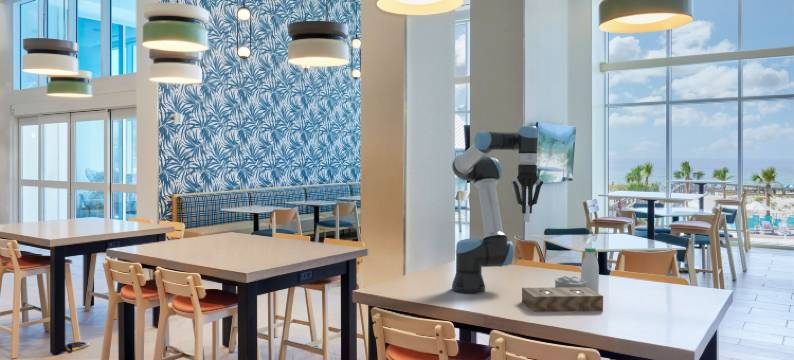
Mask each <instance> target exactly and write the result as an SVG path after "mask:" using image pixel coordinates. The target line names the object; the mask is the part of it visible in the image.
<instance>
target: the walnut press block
mask: <svg viewBox="0 0 794 360" xmlns="http://www.w3.org/2000/svg"><path fill="white" fill-rule="evenodd" d="M541 291H549V292H551V293H541ZM572 291H581V292H582V293H573V292H572ZM521 303H522V304H523V305H525V306H526V307H527V308H528V309H530V310H531V311H532V312H533V313H542V312H544V313H545V312H549V313H550V312H551V313H553V312H555V313H556V312H603V311H604V295H602V294H600V293H599V292H595V291H593V290H591V289H589V288H587V287H557V288H555V287H521Z"/></svg>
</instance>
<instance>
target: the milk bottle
mask: <svg viewBox="0 0 794 360" xmlns="http://www.w3.org/2000/svg"><path fill="white" fill-rule="evenodd" d="M596 250H597V249H596V247H585V248H584V253H585V255H584V258H583V260H582V262H581V267H580V279H582V280H583V281H586V282H587V288H589V289H591V290H593V291H595V292H597V293H599V283H600V282H599V281H600V274H599V273H600V271H599V270H600V267H599V263H598V259H597V258H596Z"/></svg>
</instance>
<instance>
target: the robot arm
mask: <svg viewBox="0 0 794 360" xmlns="http://www.w3.org/2000/svg"><path fill="white" fill-rule="evenodd" d="M538 136H539V135H538V128H537V126H533V125H523V126H522V125H521V126H519V128H518V132H517V131H516V132H515V131H513V132H512V131H511V132H510V131H485V130H484V131H478V132H476V133H475V136H474V139H473V144H472V145H470V146H469V148H468V149H466V150H465V151H464V152H463V153H461V154H458V155H457V156H456V157H455V158H454V159H453V161H452V165H451V168H452V171H453V174H454V175H455V176H456V177H457V178H458V179H461V180H462V181H466V182H467V181H468V182H470V181H471V182H472V181H473V183H474V184H473V185H474V187H476V188H477V191H478V196H479V203H480V210H481V217H482V218H481V219H482V224H483V230H484V231H483V232H484V235H483V237H482V238H480V237H479V238H478V237H475V238H474V237H473V238H472V237H471V238H465V239H464V238H463V239H461V240H459V241H457V243H456V247H455V248H456V249H455V275H454V279H453V280H452V284H451V290H452V291H453V292H455V293H460V294H468V295H469V294H472V295H473V294H482V293H484V292H486V284H485V282H484V281H485V280H484V277H483V274H482V271H483V269H482V268H486V267H487V268H489V267H490V268H491V267H492V268H493V267H494V268H495V267H500V268H501V267H507V266H509V265H510V264H512V262H513V259H514V257H515V256H514V255H515V246H514V245H515V244H514V243H513V242H512V240H509V239H508V235H506V234H505V233H504V229H503V224H502V223H503V222H502V217H501V211H500V204H499V197H498V191H497V185H498V184H499V180H500V179H501V178H502V166H501V163H500V161H499V160H498V159H497V158H496V157H494V156H492V157H491V156H487V155H488V154H490V152H492V151H498V150H501V151H502V150H503V151H518V158H517V159H518V160H517V162H518V165H517V177H516V179H514V180H512V181H510V182H511V184H512V186H513V189H514V193H515V197H516V202H517V204H518V205H521V214H523V222H525V223H529V222H530V221H531V219H530V215H531V214H532V213H533V206H534V205H537V203H538V200H539V196H540V195H539V194H540V191H541V189H542V186H543V184H544V181H543V180H540V179H539V177H538V165H537V163H538V138H539V137H538ZM519 184H520V186H521V192H520V187H519ZM535 184H536V186H535ZM534 186H535V190H534ZM533 190H534V191H533Z"/></svg>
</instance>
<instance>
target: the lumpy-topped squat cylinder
mask: <svg viewBox="0 0 794 360" xmlns="http://www.w3.org/2000/svg"><path fill="white" fill-rule="evenodd" d="M557 287H587V282H586V281H583V280H582V279H581V278H579V277H577V276H571V277H569V276H567V275H564V276H560V277H558V278H556V279H555V280H554V288H557Z"/></svg>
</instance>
